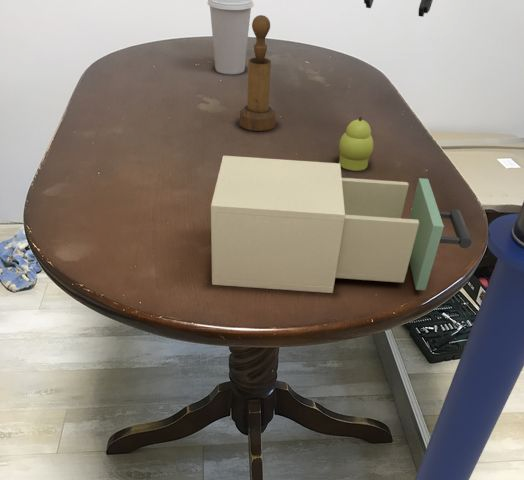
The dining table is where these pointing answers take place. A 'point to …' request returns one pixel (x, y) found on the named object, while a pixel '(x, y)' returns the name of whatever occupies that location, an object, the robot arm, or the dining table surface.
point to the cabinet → (277, 224)
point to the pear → (356, 146)
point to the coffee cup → (230, 34)
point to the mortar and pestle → (258, 83)
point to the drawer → (392, 231)
